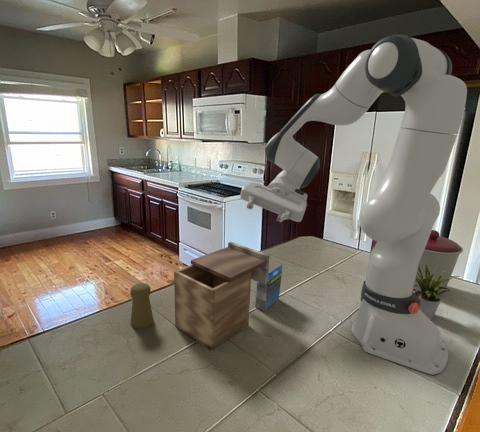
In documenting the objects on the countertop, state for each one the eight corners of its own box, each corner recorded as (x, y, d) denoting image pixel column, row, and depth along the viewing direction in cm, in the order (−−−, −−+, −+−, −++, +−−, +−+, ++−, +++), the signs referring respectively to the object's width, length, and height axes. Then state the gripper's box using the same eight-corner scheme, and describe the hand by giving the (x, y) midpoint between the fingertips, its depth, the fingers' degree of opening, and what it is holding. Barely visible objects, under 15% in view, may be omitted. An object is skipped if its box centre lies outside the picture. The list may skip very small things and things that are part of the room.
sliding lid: (267, 283, 88) (269, 255, 86) (229, 304, 77) (230, 272, 74) (230, 267, 97) (230, 241, 95) (190, 285, 86) (190, 255, 83)
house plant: (382, 305, 98) (391, 256, 94) (412, 297, 104) (421, 251, 100) (425, 331, 86) (437, 277, 82) (456, 320, 92) (469, 269, 87)
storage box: (248, 325, 86) (251, 271, 81) (211, 350, 75) (212, 290, 71) (212, 305, 94) (213, 256, 90) (175, 326, 84) (174, 271, 80)
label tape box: (268, 295, 102) (271, 260, 98) (280, 299, 99) (282, 263, 96) (254, 307, 95) (256, 269, 91) (266, 311, 92) (268, 273, 89)
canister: (432, 304, 100) (446, 242, 94) (383, 280, 115) (393, 226, 109) (463, 292, 108) (477, 235, 103) (413, 271, 123) (424, 220, 118)
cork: (125, 324, 84) (123, 287, 81) (142, 313, 89) (140, 278, 86) (142, 331, 82) (140, 293, 79) (158, 319, 87) (157, 283, 84)
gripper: (252, 173, 101) (233, 190, 90) (312, 196, 96) (300, 217, 85) (248, 190, 104) (230, 208, 94) (306, 213, 99) (293, 235, 88)
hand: (264, 213), depth 89 cm, fingers open, 8 cm apart
